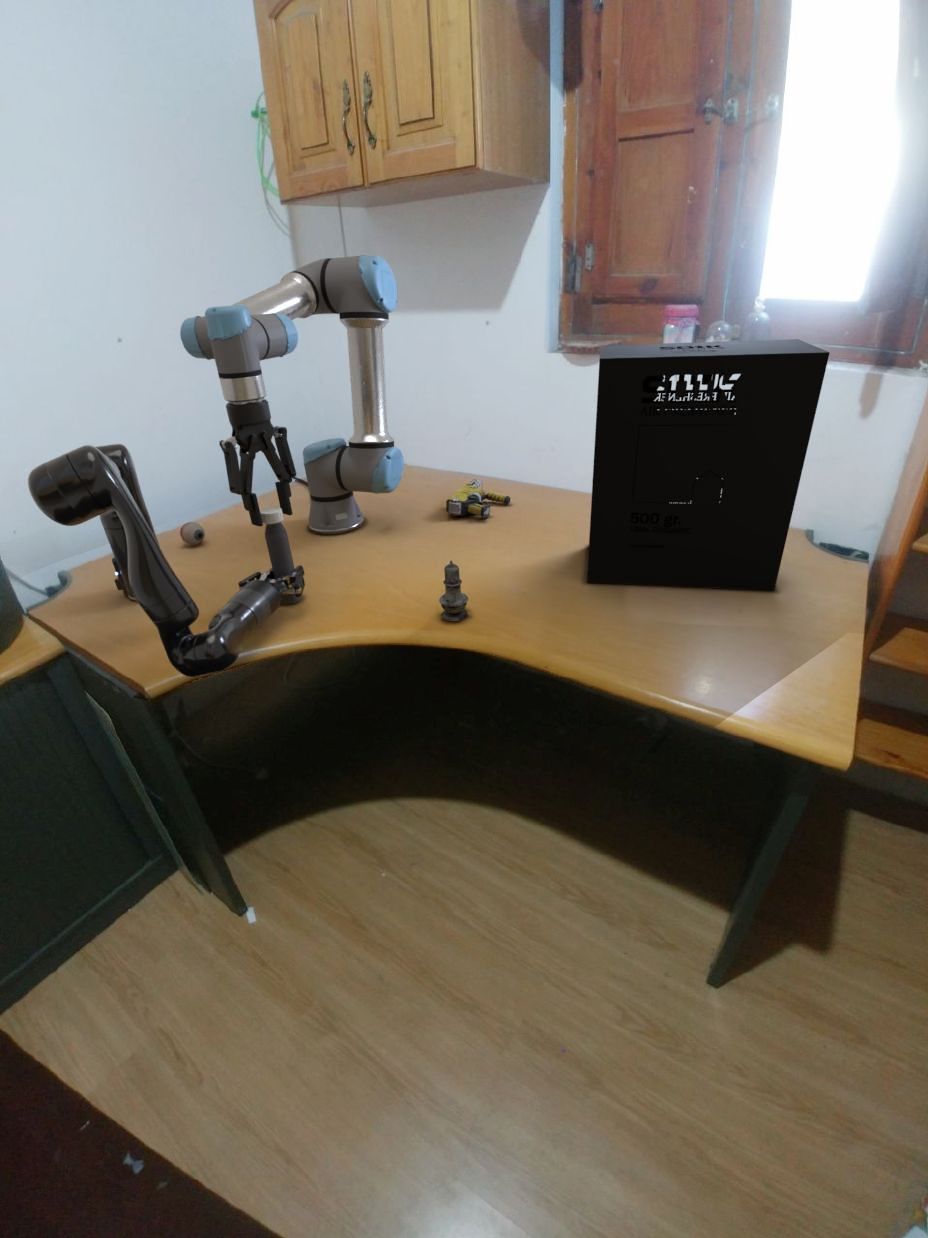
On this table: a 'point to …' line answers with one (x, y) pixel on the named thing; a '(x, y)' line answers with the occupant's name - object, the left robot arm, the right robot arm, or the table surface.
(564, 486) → the table surface
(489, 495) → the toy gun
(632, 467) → the cardboard box
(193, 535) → the eyeball
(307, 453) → the right robot arm
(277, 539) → the bottle
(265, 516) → the cap
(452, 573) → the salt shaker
